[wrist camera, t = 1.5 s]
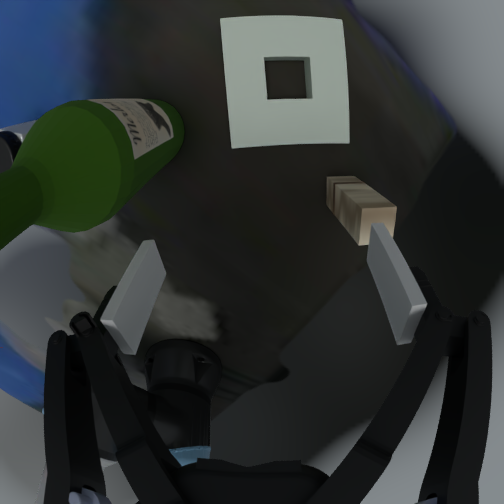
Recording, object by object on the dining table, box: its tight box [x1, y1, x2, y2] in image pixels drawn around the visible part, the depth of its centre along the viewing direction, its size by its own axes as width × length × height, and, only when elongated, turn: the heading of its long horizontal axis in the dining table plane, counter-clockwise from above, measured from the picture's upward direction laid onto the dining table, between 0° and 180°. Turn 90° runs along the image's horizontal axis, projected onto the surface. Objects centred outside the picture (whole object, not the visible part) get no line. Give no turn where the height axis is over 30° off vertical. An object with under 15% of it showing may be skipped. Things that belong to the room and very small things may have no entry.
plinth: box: [220, 16, 349, 148], centre depth 29 cm, size 16×14×3 cm
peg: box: [326, 176, 397, 245], centre depth 32 cm, size 4×4×12 cm
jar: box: [0, 120, 37, 173], centre depth 26 cm, size 9×8×12 cm
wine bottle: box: [0, 99, 185, 250], centre depth 18 cm, size 9×9×32 cm
